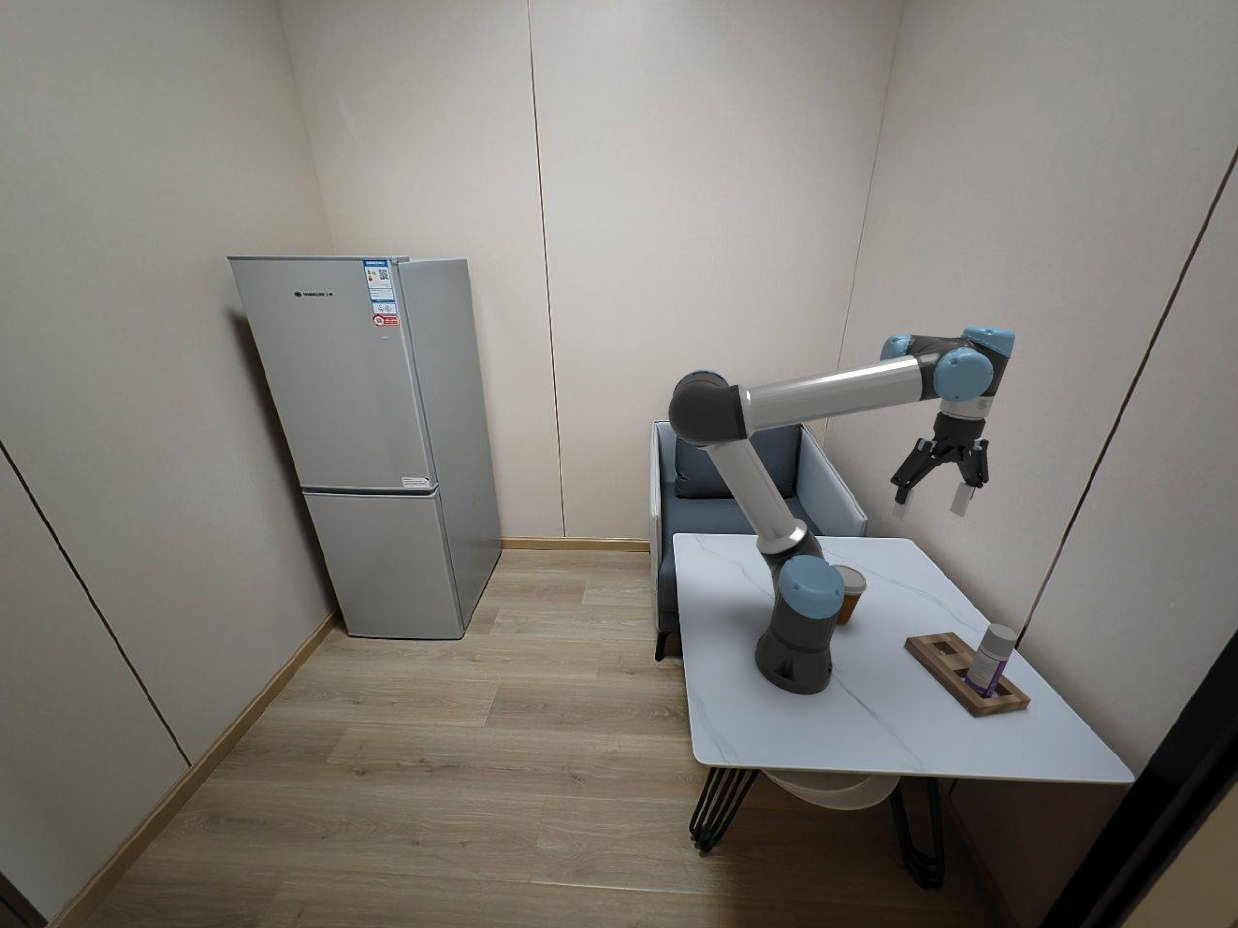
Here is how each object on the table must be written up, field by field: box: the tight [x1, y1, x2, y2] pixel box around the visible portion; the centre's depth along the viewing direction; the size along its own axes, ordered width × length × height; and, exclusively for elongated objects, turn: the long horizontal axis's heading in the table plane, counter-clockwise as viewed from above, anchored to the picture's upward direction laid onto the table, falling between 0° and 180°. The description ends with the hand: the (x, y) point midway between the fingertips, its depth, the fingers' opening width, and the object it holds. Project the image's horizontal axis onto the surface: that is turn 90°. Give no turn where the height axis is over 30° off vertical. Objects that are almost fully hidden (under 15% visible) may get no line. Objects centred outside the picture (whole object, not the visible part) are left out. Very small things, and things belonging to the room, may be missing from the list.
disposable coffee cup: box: [829, 563, 868, 626], centre depth 110 cm, size 10×10×12 cm
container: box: [963, 623, 1018, 699], centre depth 91 cm, size 5×5×15 cm
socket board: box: [903, 631, 1032, 718], centre depth 97 cm, size 12×18×2 cm, turn 11°
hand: (927, 515), depth 94 cm, fingers open, 13 cm apart
